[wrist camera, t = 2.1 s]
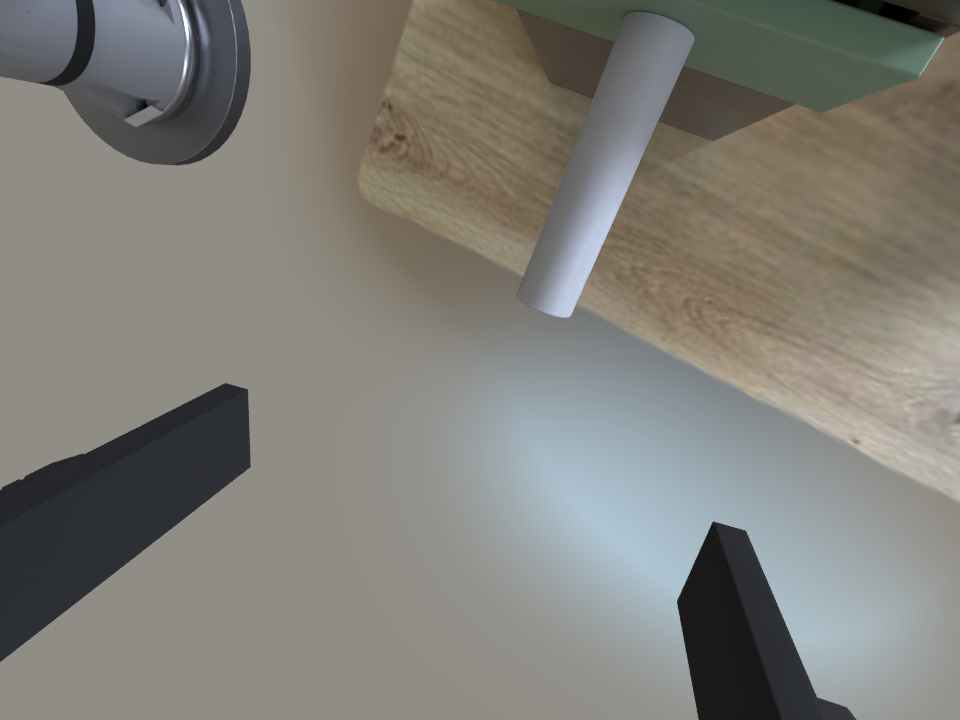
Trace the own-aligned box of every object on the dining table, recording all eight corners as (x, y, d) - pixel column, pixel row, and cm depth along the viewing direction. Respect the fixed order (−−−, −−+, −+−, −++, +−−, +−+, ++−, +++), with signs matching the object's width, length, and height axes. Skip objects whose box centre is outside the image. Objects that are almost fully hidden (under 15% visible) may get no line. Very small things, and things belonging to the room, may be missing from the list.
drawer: (618, -450, 14) (629, -853, 9) (1084, -342, 13) (1445, -738, 7) (423, 237, 23) (368, 252, 17) (687, 344, 21) (716, 395, 16)
